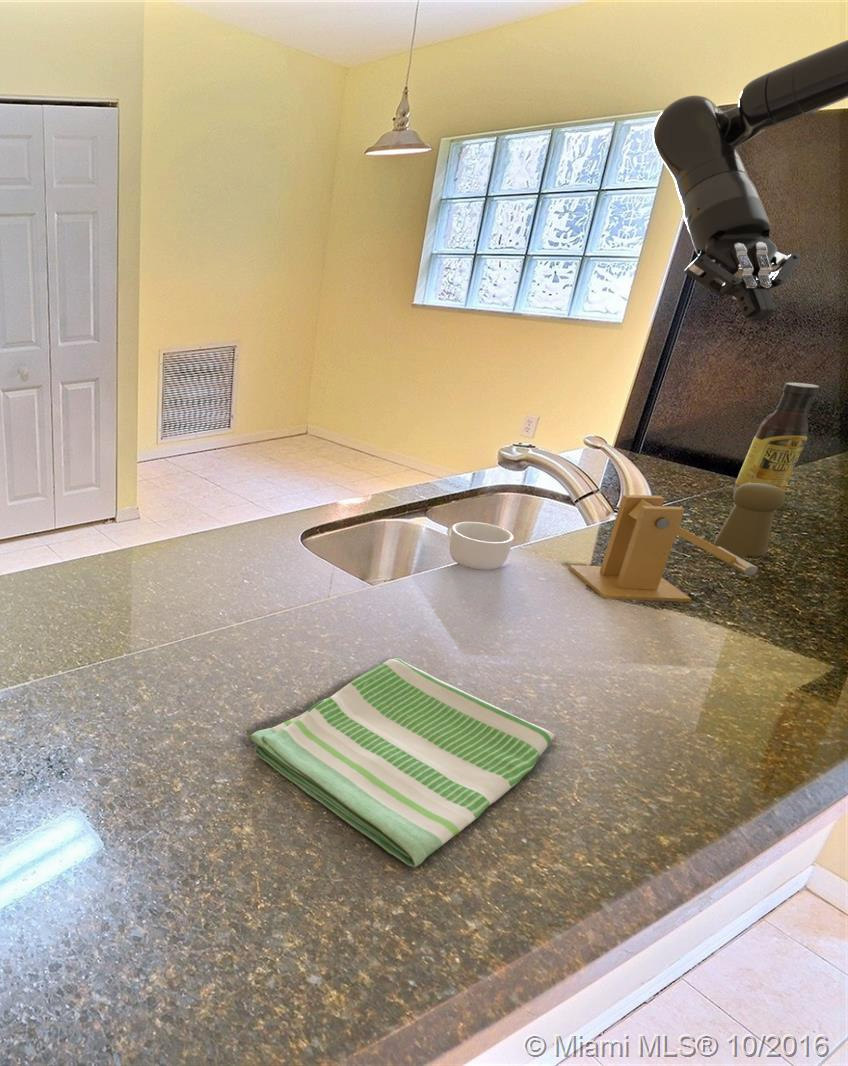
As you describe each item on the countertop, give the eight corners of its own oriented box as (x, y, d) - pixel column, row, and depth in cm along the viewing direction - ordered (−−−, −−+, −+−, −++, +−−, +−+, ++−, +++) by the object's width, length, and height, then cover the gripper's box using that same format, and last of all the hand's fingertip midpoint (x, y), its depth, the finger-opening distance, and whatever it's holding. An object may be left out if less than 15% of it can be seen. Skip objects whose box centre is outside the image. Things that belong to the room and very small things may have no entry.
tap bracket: (645, 576, 98) (674, 490, 93) (688, 608, 90) (722, 515, 85) (567, 573, 100) (591, 489, 95) (601, 604, 92) (629, 513, 87)
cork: (711, 544, 107) (736, 475, 103) (765, 555, 103) (794, 484, 99) (706, 556, 103) (732, 486, 99) (763, 568, 99) (792, 495, 95)
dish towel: (242, 749, 69) (244, 727, 68) (386, 669, 80) (390, 649, 79) (413, 875, 55) (419, 849, 54) (559, 757, 66) (566, 734, 65)
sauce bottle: (747, 503, 121) (791, 388, 113) (722, 491, 127) (762, 380, 119) (791, 504, 120) (839, 388, 112) (764, 491, 126) (807, 380, 118)
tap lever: (715, 560, 95) (729, 546, 94) (747, 581, 89) (764, 566, 88) (619, 508, 94) (633, 494, 93) (646, 526, 89) (661, 510, 88)
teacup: (518, 573, 101) (527, 539, 99) (472, 580, 99) (480, 546, 97) (465, 546, 110) (472, 514, 108) (423, 552, 108) (429, 520, 106)
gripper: (690, 196, 95) (727, 299, 89) (800, 191, 94) (846, 296, 87) (653, 238, 102) (684, 336, 96) (755, 234, 101) (794, 334, 94)
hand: (761, 317), depth 92 cm, fingers closed
